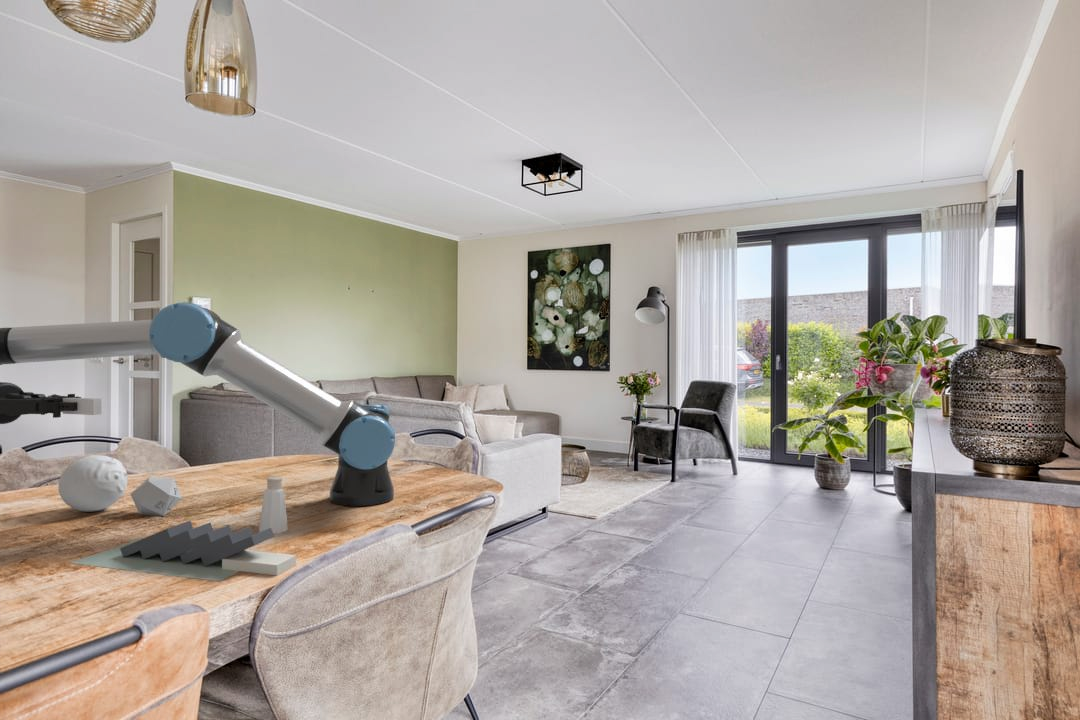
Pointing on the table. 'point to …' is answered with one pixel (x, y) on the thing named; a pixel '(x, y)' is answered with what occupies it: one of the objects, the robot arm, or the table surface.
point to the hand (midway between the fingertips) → (97, 406)
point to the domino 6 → (259, 562)
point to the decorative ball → (93, 483)
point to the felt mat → (157, 564)
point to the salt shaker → (273, 507)
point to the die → (156, 496)
